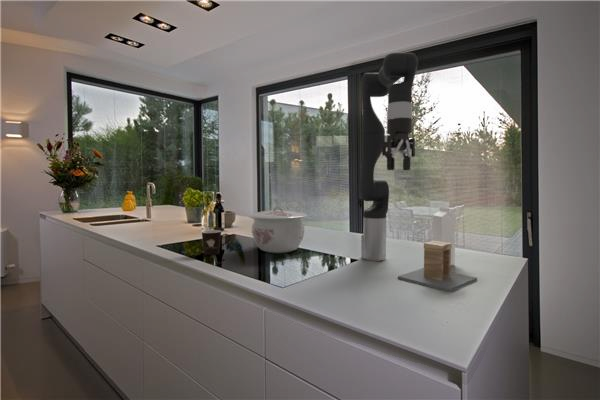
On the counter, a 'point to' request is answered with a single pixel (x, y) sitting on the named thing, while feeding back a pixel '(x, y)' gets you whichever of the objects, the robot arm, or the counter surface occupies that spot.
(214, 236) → the coffee mug
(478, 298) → the counter surface
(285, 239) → the chamber pot
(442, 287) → the mat
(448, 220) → the milk
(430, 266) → the tan notched block
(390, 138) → the robot arm
